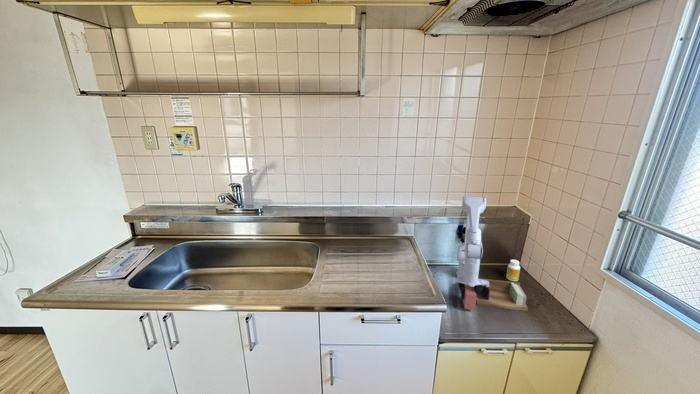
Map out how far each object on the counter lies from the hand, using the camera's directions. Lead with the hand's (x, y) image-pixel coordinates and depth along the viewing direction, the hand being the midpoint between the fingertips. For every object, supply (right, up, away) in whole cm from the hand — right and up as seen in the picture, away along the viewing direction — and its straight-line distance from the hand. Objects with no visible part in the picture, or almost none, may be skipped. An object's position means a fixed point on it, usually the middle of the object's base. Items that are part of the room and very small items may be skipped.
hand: (468, 298), depth 122 cm
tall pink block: (0, -2, 0) cm, 2 cm away
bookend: (+9, 0, +6) cm, 11 cm away
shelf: (+15, -2, +4) cm, 16 cm away
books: (+23, -1, +3) cm, 23 cm away
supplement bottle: (+31, +3, +21) cm, 38 cm away
